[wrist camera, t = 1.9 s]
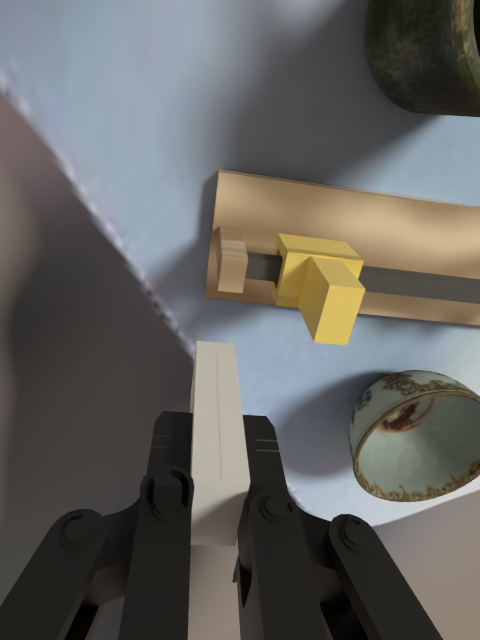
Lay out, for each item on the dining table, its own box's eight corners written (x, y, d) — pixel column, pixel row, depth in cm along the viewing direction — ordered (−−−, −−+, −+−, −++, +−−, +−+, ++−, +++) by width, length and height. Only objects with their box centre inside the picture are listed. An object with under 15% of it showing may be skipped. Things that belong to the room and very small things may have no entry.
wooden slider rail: (218, 168, 29) (222, 190, 22) (549, 217, 33) (642, 248, 26) (204, 290, 34) (204, 339, 27) (494, 320, 37) (560, 370, 30)
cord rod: (242, 251, 27) (243, 258, 25) (549, 287, 30) (564, 295, 29) (239, 270, 27) (240, 277, 26) (540, 303, 30) (554, 312, 29)
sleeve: (278, 233, 27) (303, 280, 20) (345, 241, 28) (392, 290, 21) (268, 282, 29) (287, 341, 22) (331, 289, 30) (370, 348, 23)
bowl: (406, 451, 46) (442, 514, 39) (307, 424, 43) (326, 488, 36) (482, 363, 40) (540, 418, 33) (373, 323, 37) (412, 376, 30)
